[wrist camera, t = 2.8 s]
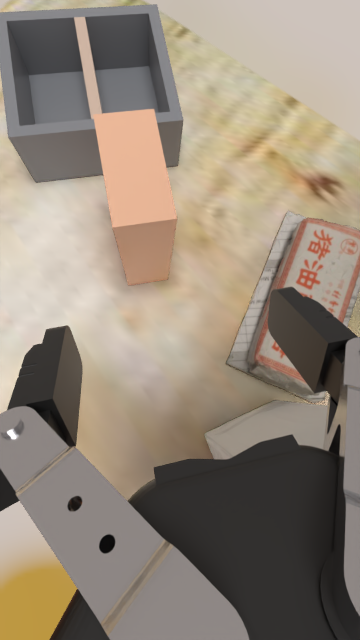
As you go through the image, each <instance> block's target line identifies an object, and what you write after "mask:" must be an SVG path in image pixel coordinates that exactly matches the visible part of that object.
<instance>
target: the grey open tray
mask: <svg viewBox="0 0 360 640" xmlns="http://www.w3.org/2000/svg"><path fill="white" fill-rule="evenodd" d="M0 70H1V78H2V87H3V95H4V104H5V112H6V121H7V129H8V138H9V139H10V141H11V142H12V144H13V146H14V147H15V149H16V151H17V152H18V154H19V156H20V157H21V159H22V161H23V162H24V164H25V166H26V167H27V169H28V170H29V172H30V174H31V175H32V177H33V179H34V180H35V182H45V181H53V180H62V179H70V178H79V177H87V176H96V175H103V169H102V163H101V158H100V152H99V146H98V140H97V134H96V129H95V123H94V117H93V114H103V113H113V112H124V111H135V110H146V109H154V111H155V116H156V121H157V126H158V130H159V135H160V140H161V144H162V149H163V154H164V159H165V163H166V167H173V166H178V161H179V152H180V144H181V135H182V127H183V117H182V112H181V108H180V103H179V99H178V95H177V90H176V86H175V82H174V77H173V73H172V68H171V64H170V60H169V55H168V51H167V46H166V42H165V38H164V33H163V29H162V25H161V20H160V16H159V11H158V7H157V5H137V6H118V7H98V8H79V9H59V10H40V11H20V12H1V13H0Z"/></svg>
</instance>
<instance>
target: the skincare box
mask: <svg viewBox="0 0 360 640" xmlns="http://www.w3.org/2000/svg"><path fill="white" fill-rule="evenodd" d="M327 408H328V406H324V405H315V404H306V403H297V402H288V401H279V400H275V401H272V402H270V403H268V404H265V405H263V406H261V407H259V408H257V409H254V410H252V411H250V412H248V413H246V414H244V415H242V416H239V417H237V418H235V419H233V420H231V421H229V422H227V423H225V424H223V425H221V426H220V427H218V428H215V429H213V430H211V431H208V432H206V433H205V434H204V435H205V438H206V441H207V443H208V446H209V448H210V451H211V453H212V456H213V458H214V459H230V458H232V457H234V456H236V455H237V454H239V453H241V452H243V451H245V450H246V449H248V448H250V447H252V446H254V445H255V444H257V443H259V442H262V441H266V440H270V439H274V438H278V437H283V436H287V435H291V434H293V436H294V438H295V439H296V441H297V443H298V445H306V446H313V447H317V448H321V449H323V444H324V436H325V427H326V417H327Z"/></svg>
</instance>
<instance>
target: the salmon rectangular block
mask: <svg viewBox="0 0 360 640" xmlns="http://www.w3.org/2000/svg"><path fill="white" fill-rule="evenodd" d="M93 117H94V123H95V129H96V134H97V140H98V146H99V152H100V158H101V163H102V169H103V175H104V181H105V187H106V192H107V198H108V204H109V210H110V216H111V221H112V227H113V231H114V235H115V238H116V242H117V246H118V249H119V253H120V256H121V260H122V264H123V267H124V271H125V275H126V278H127V282H128V286H130V285H136V284H142V283H149V282H155V281H161V280H167V279H168V276H169V269H170V263H171V256H172V249H173V243H174V236H175V230H176V223H177V215H176V211H175V206H174V201H173V196H172V192H171V187H170V182H169V177H168V173H167V168H166V163H165V159H164V154H163V149H162V144H161V140H160V135H159V130H158V126H157V121H156V116H155V111H154V109H146V110H135V111H124V112H113V113H103V114H93Z"/></svg>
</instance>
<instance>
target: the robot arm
mask: <svg viewBox="0 0 360 640" xmlns="http://www.w3.org/2000/svg"><path fill="white" fill-rule="evenodd" d="M268 329H269V332H270V334H271V336H272V337H273V339H274V340H275V341H276V343H277V344H278V345H279V347H280V348H281V349H282V351H283V352H284V353H285V355H286V356H287V358H288V359H289V360H290V362H291V363H292V364H293V366H294V367H295V368H296V370H297V371H298V372H299V374H300V375H301V376H302V378H303V379H304V380H305V382H306V383H307V384H308V386H309V387H310V388H311V390H312V391H313V392H314V394H315V393H320V392H324V391H327V392H328V393H329V394H330V397H329V400H328V408H327V417H326V427H325V436H324V444H323V449H321V448H317V447H313V446H306V445H298V443H297V441H296V439H295V438H294V436H293V434H291V435H287V436H283V437H278V438H274V439H270V440H266V441H262V442H259V443H257V444H255V445H254V446H252V447H250V448H248V449H246V450H245V451H243V452H241V453H239V454H237V455H236V456H234V457H232V458H230V459H187V460H183V461H179V462H175V463H170V464H166V465H162V466H158V467H154V473H155V479H154V480H152V481H150V482H149V483H147V484H146V485H144V486H143V487H142V488H140V489H139V490H138V491H137V492H136V493H135V494H134V495H133V496H132V497H131V498H130V499H129V500H128V501H127V500H126V499H125V498H124V497H123V496H122V495H121V494H120V493H119V492H118V491H117V490H116V489H115V488H114V487H113V486H112V485H111V484H110V483H109V482H108V481H107V480H106V479H105V477H104V476H103V475H102V474H101V473H100V472H99V471H98V470H97V469H96V468H95V467H94V466H93V465H92V464H91V463H90V462H89V461H88V460H87V459H86V458H85V457H84V456H83V455H82V454H81V452H80V451H79V450H78V449H76V448H75V446H76V440H77V429H78V417H79V406H80V394H81V383H82V362H81V357H80V354H79V352H78V349H77V346H76V343H75V341H74V338H73V335H72V332H71V330H70V328H69V326H62V327H56V328H50V329H47V330H46V332H45V335H44V339H43V343H42V344H37V345H34V346H33V347H32V348H31V349H30V350H29V352H28V353H27V354H26V355H25V357H24V360H23V363H22V368H21V369H20V372H19V377H18V378H17V381H16V384H15V387H14V390H13V393H12V396H11V400H10V403H9V406H8V409H7V411H5V412H3V413H1V414H0V511H2V510H4V509H5V508H7V507H9V506H11V505H12V504H14V503H16V502H18V501H20V502H21V503H22V505H23V507H24V508H25V510H26V511H27V513H28V514H29V516H30V517H31V519H32V520H33V522H34V523H35V524H36V526H37V528H38V529H39V531H40V532H41V534H42V535H43V537H44V538H45V540H46V541H47V543H48V544H49V546H50V547H51V549H52V550H53V552H54V553H55V555H56V557H57V558H58V560H59V561H60V563H61V564H62V566H63V567H64V569H65V570H66V572H67V573H68V575H69V576H70V578H71V579H72V581H73V582H74V584H75V585H76V587H77V588H78V589H77V590H76V592H75V594H74V596H73V598H72V600H71V602H70V603H69V605H68V607H67V609H66V611H65V612H64V614H63V616H62V618H61V620H60V622H59V624H58V625H57V627H56V629H55V631H54V633H53V634H52V636H51V638H50V640H360V337H357V336H356V335H355V334H354V333H353V332H352V331H351V330H350V329H348V328H347V327H346V326H345V325H344V324H343V323H342V322H340V321H339V320H338V319H337V318H336V317H334V316H333V314H331V313H330V312H329V311H327V309H326V308H325V307H324V306H322V305H321V304H320V303H319V302H318V301H315V300H313V299H311V298H309V297H307V296H304V297H303V296H302V295H301V294H300V293H299V292H298V291H297V290H296V289H295V288H294V287H285V288H280V289H274V290H272V292H271V295H270V304H269V313H268Z"/></svg>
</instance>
